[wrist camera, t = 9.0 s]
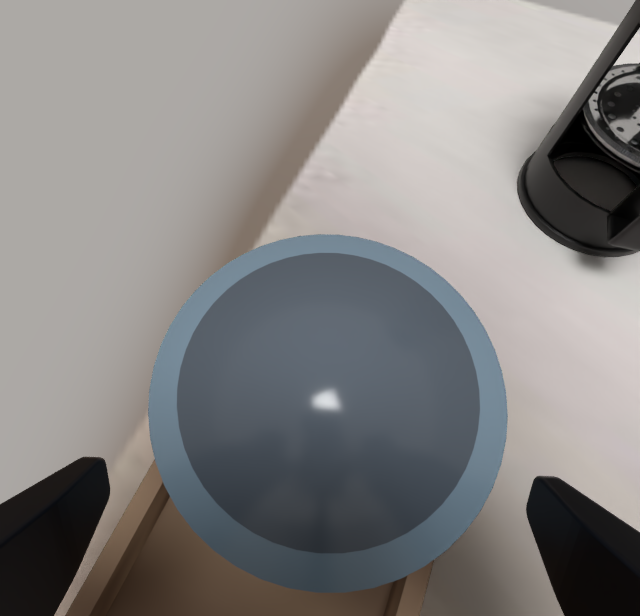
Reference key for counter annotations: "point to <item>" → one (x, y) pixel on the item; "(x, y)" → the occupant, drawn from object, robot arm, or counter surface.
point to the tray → (209, 575)
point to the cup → (327, 413)
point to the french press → (592, 156)
